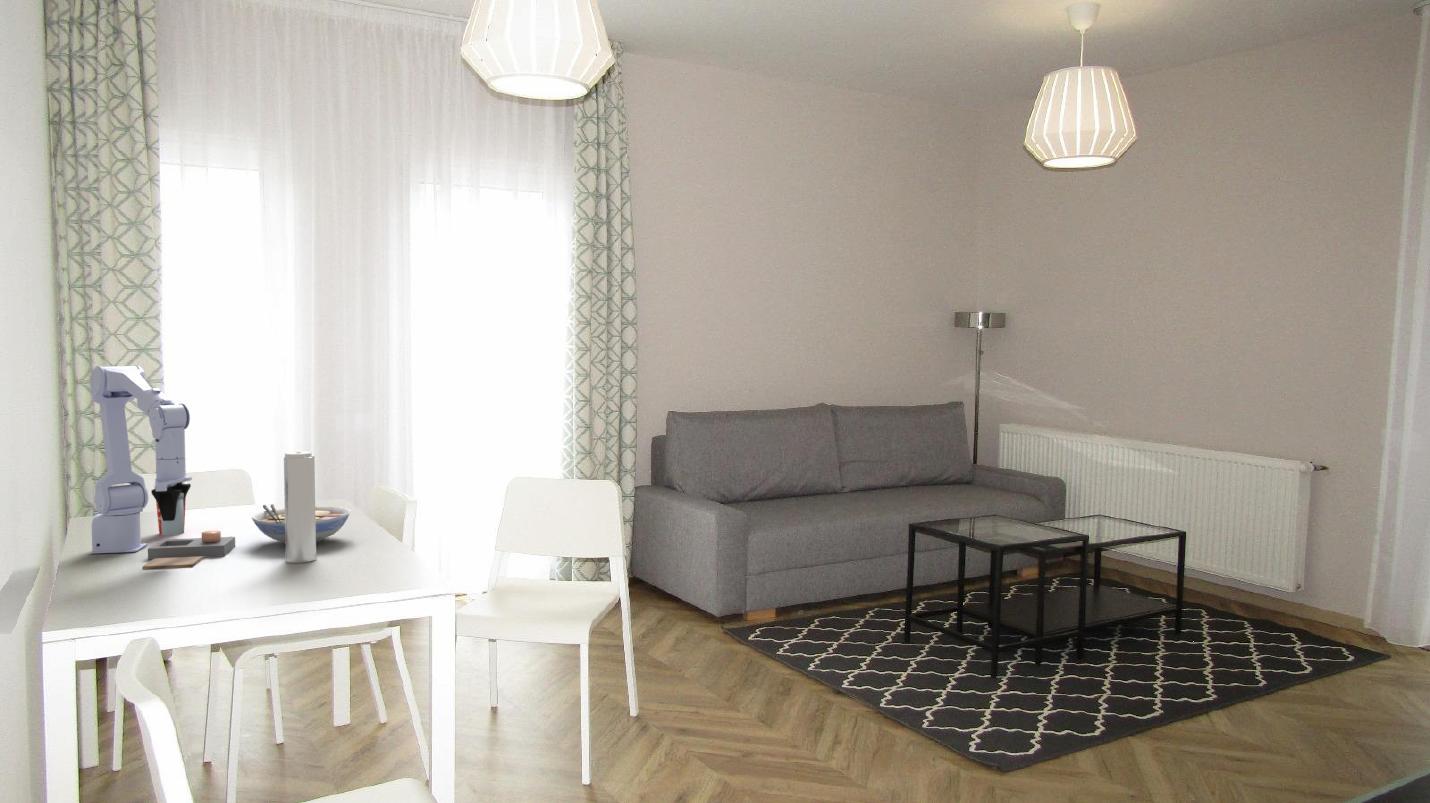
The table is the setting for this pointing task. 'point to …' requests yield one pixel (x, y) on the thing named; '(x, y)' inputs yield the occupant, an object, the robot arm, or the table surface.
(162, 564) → the walnut pad
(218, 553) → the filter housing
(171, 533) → the cylinder
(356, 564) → the table surface
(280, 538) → the ramen bowl
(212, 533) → the plunger
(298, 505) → the air filter
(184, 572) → the table surface
